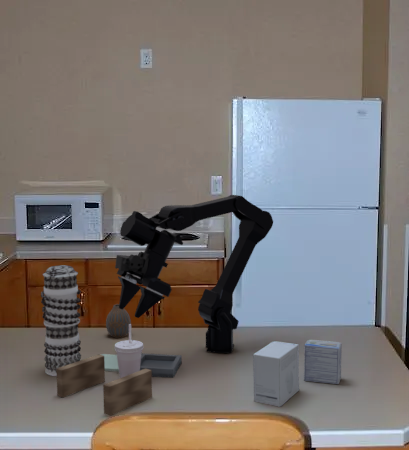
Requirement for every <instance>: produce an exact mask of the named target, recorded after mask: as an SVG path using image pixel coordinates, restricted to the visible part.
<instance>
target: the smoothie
mask: <svg viewBox="0 0 409 450" xmlns="http://www.w3.org/2000/svg"><path fill="white" fill-rule="evenodd" d="M143 350H144V343H143V342H142V341H139V340H135V339H132V323H131V324H129V332H128V339H127V340H121V341H118V342H116V343H115V344H114V351H115V352H116V355H117V360H118V367H119V372H118V373H119V378H122V377H125V376H127V375H130V374H132V373H135V372H138V371H140V363H141V354H142V352H143Z"/></svg>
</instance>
